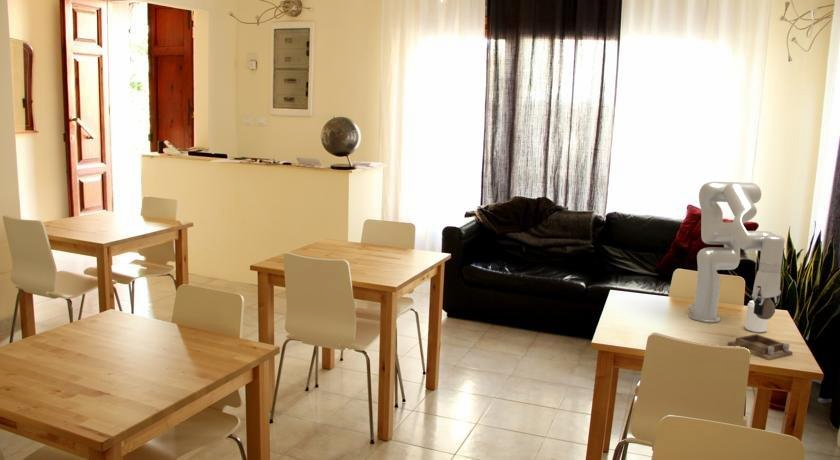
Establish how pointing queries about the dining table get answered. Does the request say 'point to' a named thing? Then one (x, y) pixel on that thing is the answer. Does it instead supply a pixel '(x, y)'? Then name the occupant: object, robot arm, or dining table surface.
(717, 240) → the robot arm
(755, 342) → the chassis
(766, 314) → the vase
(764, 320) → the beverage can
